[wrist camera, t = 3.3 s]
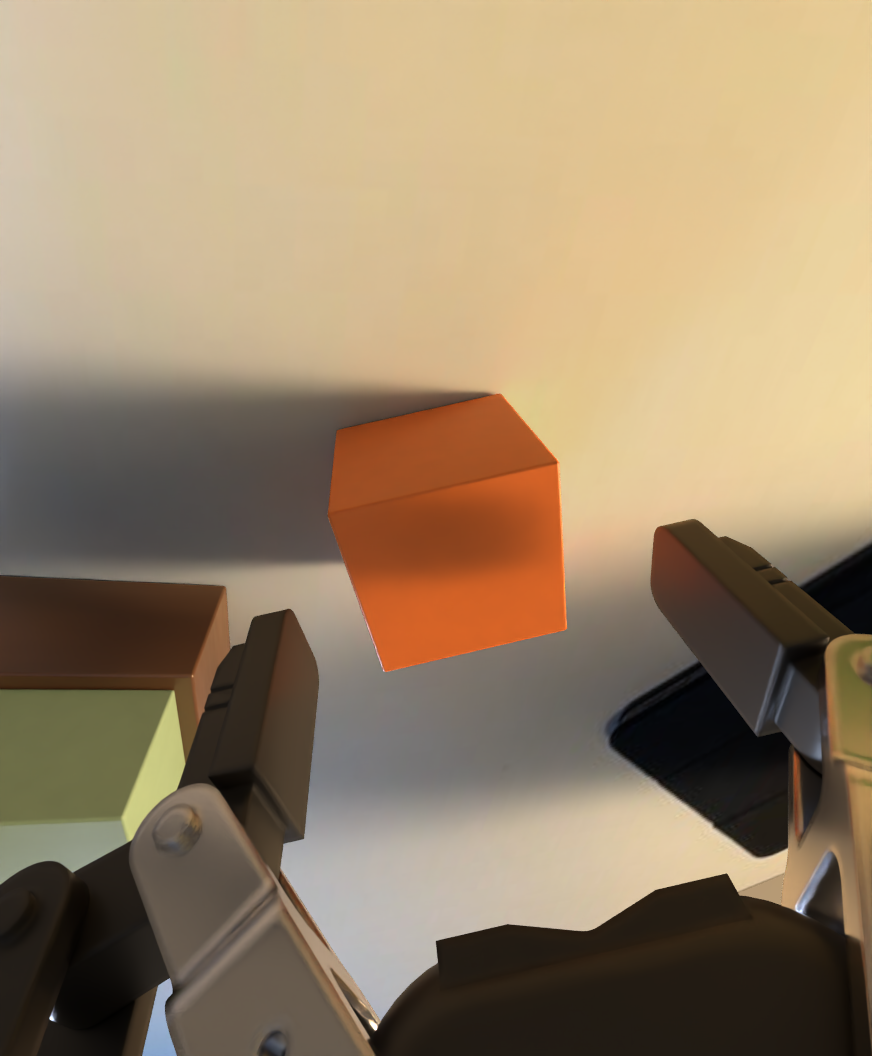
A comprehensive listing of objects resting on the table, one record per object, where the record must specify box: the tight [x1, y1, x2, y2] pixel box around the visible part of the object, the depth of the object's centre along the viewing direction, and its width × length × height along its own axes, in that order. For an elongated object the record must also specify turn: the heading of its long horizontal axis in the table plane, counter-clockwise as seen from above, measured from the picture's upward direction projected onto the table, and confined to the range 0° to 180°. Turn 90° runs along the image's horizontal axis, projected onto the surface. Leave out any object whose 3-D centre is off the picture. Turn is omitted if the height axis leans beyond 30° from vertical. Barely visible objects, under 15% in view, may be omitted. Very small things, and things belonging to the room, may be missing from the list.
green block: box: [0, 689, 185, 885], centre depth 13 cm, size 6×6×4 cm
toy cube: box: [328, 394, 567, 672], centre depth 14 cm, size 5×5×5 cm
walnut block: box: [0, 576, 230, 764], centre depth 16 cm, size 7×7×4 cm
